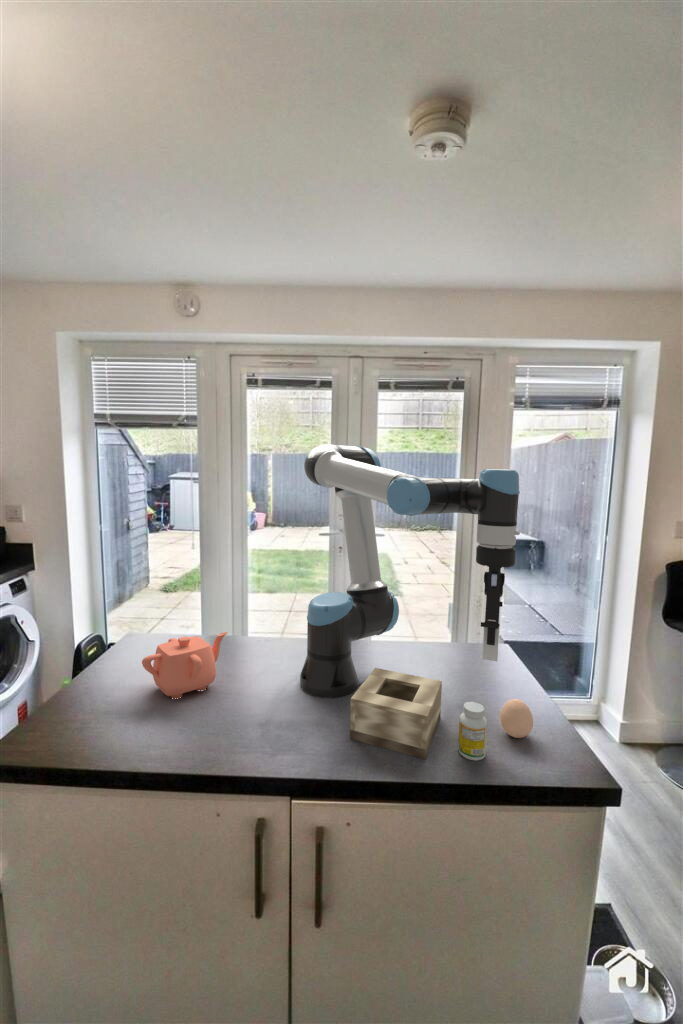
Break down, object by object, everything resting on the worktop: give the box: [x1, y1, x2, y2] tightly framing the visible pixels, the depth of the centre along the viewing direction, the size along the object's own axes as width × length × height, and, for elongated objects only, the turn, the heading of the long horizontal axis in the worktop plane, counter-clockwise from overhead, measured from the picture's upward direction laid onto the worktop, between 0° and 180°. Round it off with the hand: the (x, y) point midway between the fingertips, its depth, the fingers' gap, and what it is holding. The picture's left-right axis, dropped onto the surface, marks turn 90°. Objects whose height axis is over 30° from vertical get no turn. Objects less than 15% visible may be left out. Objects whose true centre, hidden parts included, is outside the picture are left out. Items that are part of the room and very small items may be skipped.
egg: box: [499, 698, 534, 739], centre depth 92 cm, size 7×7×8 cm
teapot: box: [141, 631, 228, 699], centre depth 110 cm, size 17×16×13 cm
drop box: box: [349, 667, 443, 760], centre depth 94 cm, size 16×16×9 cm
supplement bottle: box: [457, 701, 488, 761], centre depth 86 cm, size 5×5×10 cm
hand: (490, 647), depth 89 cm, fingers open, 13 cm apart
